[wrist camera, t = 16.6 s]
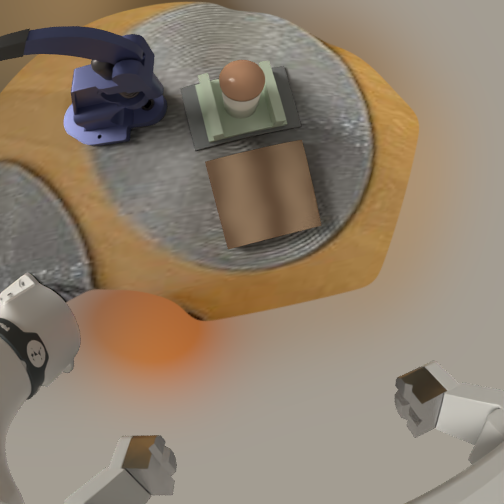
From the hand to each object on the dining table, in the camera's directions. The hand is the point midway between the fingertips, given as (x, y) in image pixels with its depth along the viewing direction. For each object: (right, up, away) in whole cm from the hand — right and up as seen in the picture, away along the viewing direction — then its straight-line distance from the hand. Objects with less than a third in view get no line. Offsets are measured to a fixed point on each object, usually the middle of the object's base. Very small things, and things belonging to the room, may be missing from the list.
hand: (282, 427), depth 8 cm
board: (0, +13, +29) cm, 32 cm away
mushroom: (-2, +24, +25) cm, 35 cm away
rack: (-2, +24, +26) cm, 36 cm away
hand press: (-20, +25, +25) cm, 40 cm away
